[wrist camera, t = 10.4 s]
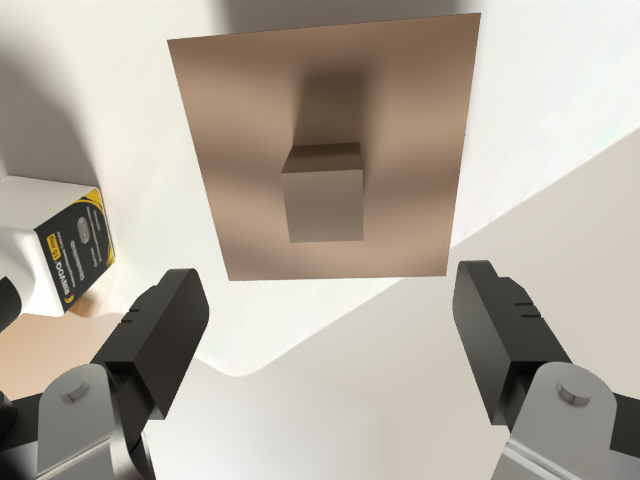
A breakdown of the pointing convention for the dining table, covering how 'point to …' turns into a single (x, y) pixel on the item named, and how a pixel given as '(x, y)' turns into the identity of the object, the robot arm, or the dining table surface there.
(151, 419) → the robot arm
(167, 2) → the dining table surface
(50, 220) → the medicine bottle
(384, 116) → the walnut lid
